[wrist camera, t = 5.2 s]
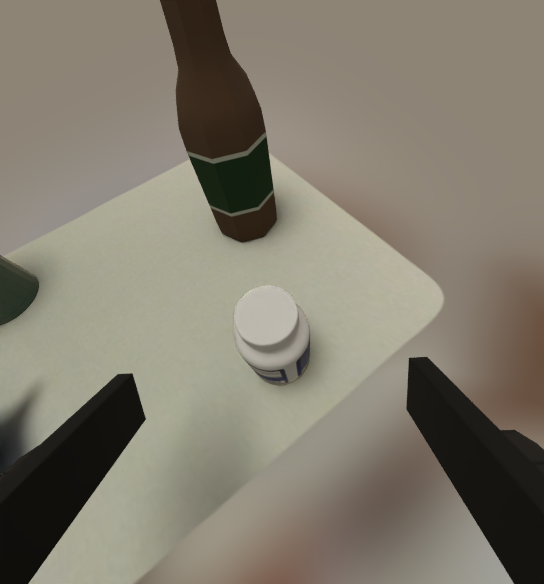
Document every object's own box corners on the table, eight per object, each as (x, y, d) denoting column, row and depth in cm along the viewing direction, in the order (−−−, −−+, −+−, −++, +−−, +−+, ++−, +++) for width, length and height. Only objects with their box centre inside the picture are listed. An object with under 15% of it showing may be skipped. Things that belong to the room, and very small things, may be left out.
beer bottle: (256, 190, 35) (185, -163, 14) (290, 222, 32) (261, -187, 11) (208, 218, 34) (48, -133, 13) (237, 254, 30) (84, -149, 9)
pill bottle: (289, 318, 25) (282, 261, 17) (320, 365, 23) (329, 326, 14) (242, 345, 25) (208, 300, 16) (268, 397, 22) (245, 376, 14)
